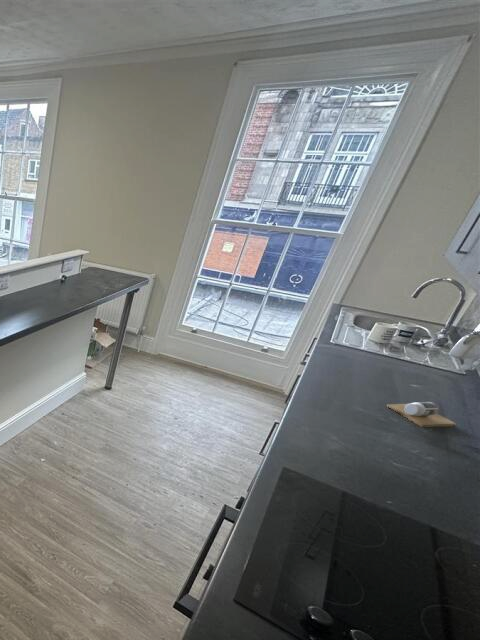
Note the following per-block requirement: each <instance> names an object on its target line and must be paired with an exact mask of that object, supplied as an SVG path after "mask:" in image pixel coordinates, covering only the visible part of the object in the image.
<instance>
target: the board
mask: <svg viewBox="0 0 480 640" xmlns="http://www.w3.org/2000/svg"><path fill="white" fill-rule="evenodd" d="M407 404H408V403H394V404H393V403H392V404H386V406H387V407H386V408H387V409H389V408H391V409H393V410H394V411H393V410H392V411H393V412H394V413H396V412H398V413H400V414H401V415H400V414H399V415H400V416H401V417H403V418H405V417H406V418H405V419H407V418H408V419H407V420H408V421H409V422H410V421H411V422H412V421H413V422H412V423H414V424H416V425H417V426H419V427H421V428H431V427H433V428H435V427H454V426H455V425H457V423H456V422H454V421H452V420H450V419H448V418H446V417H445V416H443V415H440V414H439V413H438V412H437V413H436V414H435V415H429V416H414V415H409V414H407V413H406V412H405V411H404V407H405V406H406V405H407ZM388 407H389V408H388ZM391 409H390V410H391ZM395 411H396V412H395ZM398 413H397V414H398ZM402 415H403V416H402Z"/></svg>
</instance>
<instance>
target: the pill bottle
mask: <svg viewBox="0 0 480 640" xmlns="http://www.w3.org/2000/svg"><path fill="white" fill-rule="evenodd" d="M406 404H407V405H406V406H405V407H404V411H405V412H406V413H407V414H409V415H414V416H429V415H435V414H436V413H437V414H438V412H439V406H438V404H436V403H435V402H431V401H420V402H419V401H418V402H411V403H406Z"/></svg>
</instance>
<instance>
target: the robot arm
mask: <svg viewBox="0 0 480 640" xmlns="http://www.w3.org/2000/svg"><path fill="white" fill-rule="evenodd" d="M448 355H449V356H450V357H452V358H455V359H458V360H462V361H463V364H462V365H461V366H460V369H462V370H465V371H474V370H475V369H476V368H477V367H478V366H479V365H480V323H479V324H478V325H477V326H476V327H475V328H474V330H473V332H472V333H469V334H465V335H464V336H463V337H462V338H460V339H459V340H458V342H456V343H455V345H454V346H453V347H452V348H451V349H450V351H449V353H448Z"/></svg>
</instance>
